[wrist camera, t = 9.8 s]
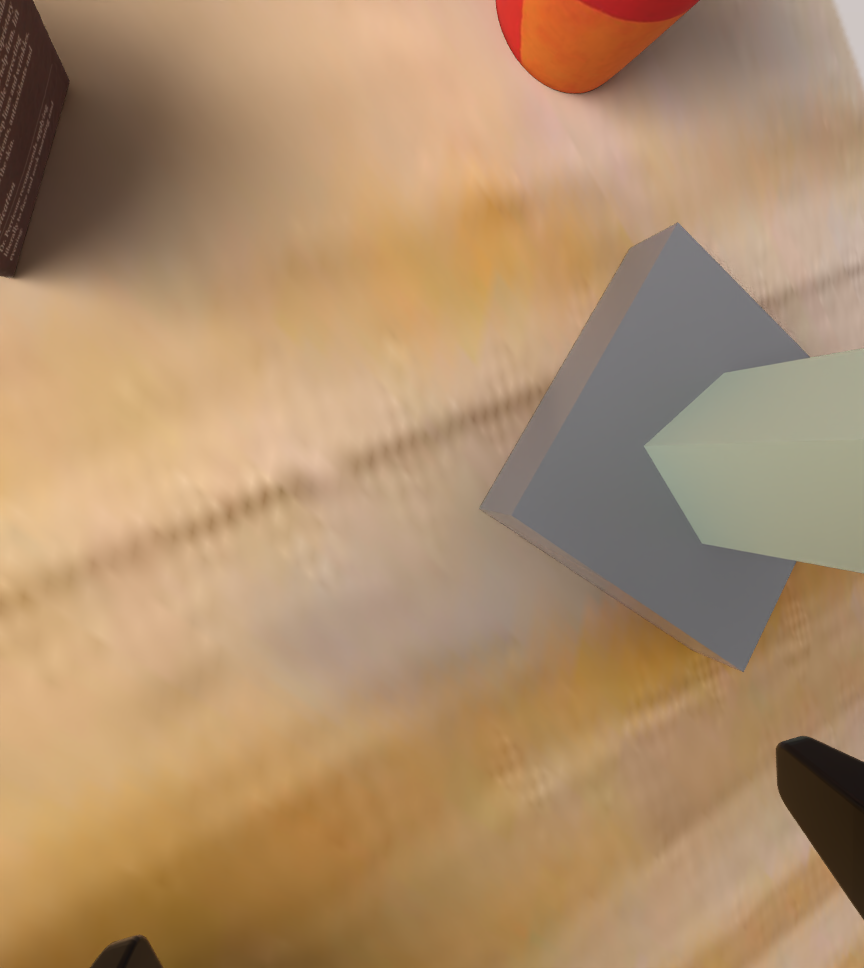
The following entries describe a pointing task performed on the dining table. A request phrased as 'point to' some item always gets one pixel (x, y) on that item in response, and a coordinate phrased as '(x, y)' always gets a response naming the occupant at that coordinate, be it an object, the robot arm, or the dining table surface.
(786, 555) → the sage block
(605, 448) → the slate slab
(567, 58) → the paper cup
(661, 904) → the dining table surface
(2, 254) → the box
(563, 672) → the dining table surface
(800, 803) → the robot arm
